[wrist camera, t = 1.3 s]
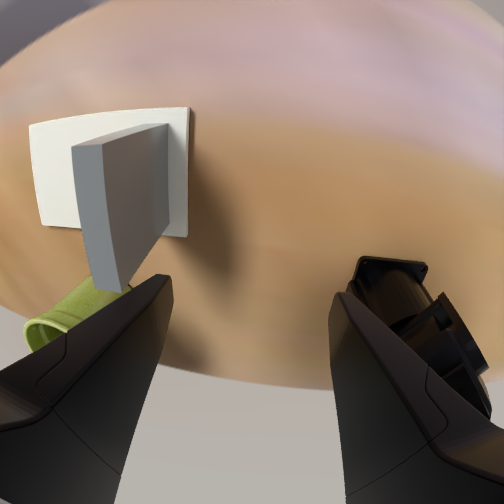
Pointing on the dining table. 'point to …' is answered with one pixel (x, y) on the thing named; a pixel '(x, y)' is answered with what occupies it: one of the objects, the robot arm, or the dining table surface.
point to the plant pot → (68, 313)
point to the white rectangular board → (92, 126)
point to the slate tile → (121, 200)
